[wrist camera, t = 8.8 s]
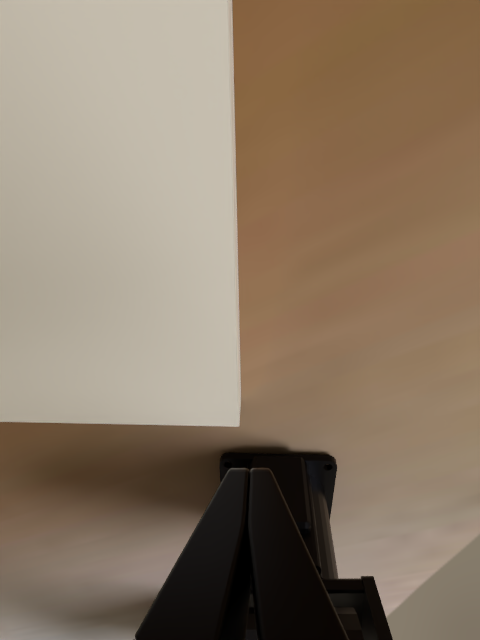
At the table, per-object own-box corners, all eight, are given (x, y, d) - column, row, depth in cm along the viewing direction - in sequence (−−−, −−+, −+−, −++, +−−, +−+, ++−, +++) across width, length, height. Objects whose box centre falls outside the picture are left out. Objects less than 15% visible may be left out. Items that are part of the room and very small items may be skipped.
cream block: (240, 399, 21) (239, 426, 20) (16, 395, 22) (-5, 421, 20) (230, -60, 13) (225, -82, 11) (-144, -45, 13) (-206, -64, 11)
